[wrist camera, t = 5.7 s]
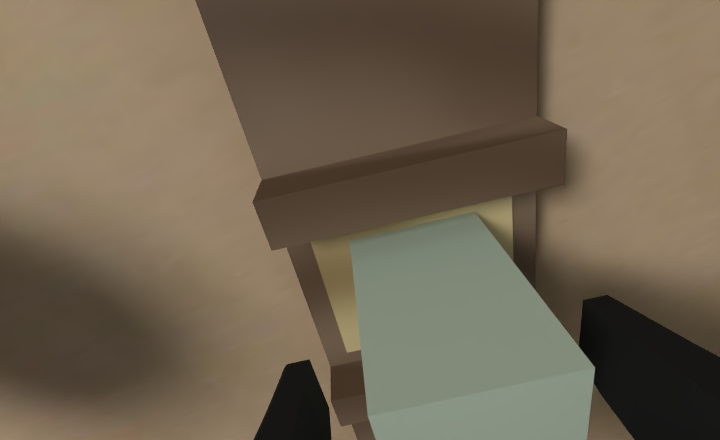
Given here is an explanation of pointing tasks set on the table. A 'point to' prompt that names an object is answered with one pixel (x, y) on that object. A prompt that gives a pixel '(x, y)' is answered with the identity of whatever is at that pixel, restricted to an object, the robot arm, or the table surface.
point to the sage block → (462, 340)
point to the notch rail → (384, 136)
